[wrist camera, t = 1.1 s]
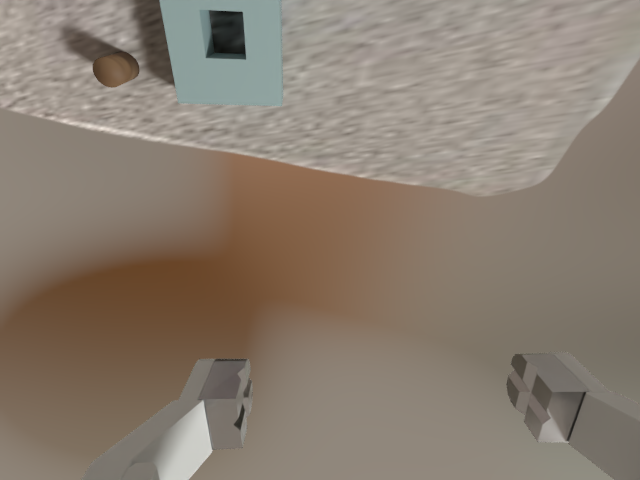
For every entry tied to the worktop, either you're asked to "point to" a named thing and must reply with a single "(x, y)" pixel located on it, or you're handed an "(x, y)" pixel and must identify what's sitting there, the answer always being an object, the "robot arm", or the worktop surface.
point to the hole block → (225, 68)
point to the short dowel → (115, 69)
